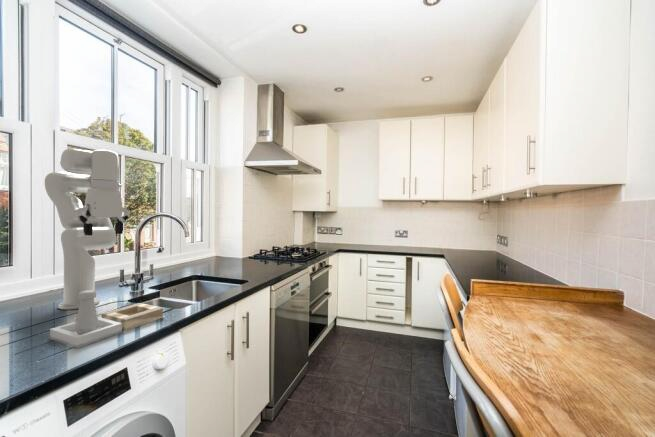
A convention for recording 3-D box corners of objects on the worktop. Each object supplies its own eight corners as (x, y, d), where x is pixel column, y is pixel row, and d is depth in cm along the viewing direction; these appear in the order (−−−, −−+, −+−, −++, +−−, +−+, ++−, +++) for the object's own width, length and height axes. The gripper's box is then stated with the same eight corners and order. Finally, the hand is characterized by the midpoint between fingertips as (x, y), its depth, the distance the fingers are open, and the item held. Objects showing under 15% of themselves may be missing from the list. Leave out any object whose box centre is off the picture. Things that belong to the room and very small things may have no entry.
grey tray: (50, 338, 85) (50, 328, 85) (95, 324, 96) (95, 316, 96) (76, 348, 80) (76, 338, 80) (121, 332, 91) (122, 323, 91)
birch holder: (101, 323, 98) (101, 313, 97) (139, 311, 109) (139, 302, 109) (125, 330, 92) (126, 319, 92) (162, 317, 104) (162, 308, 104)
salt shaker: (84, 337, 85) (84, 294, 84) (69, 335, 86) (69, 293, 86) (103, 330, 90) (103, 289, 90) (88, 328, 92) (89, 288, 91)
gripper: (123, 188, 110) (123, 232, 110) (68, 183, 94) (68, 235, 94) (136, 188, 107) (135, 233, 107) (82, 183, 91) (81, 236, 91)
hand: (104, 234), depth 101 cm, fingers open, 9 cm apart
